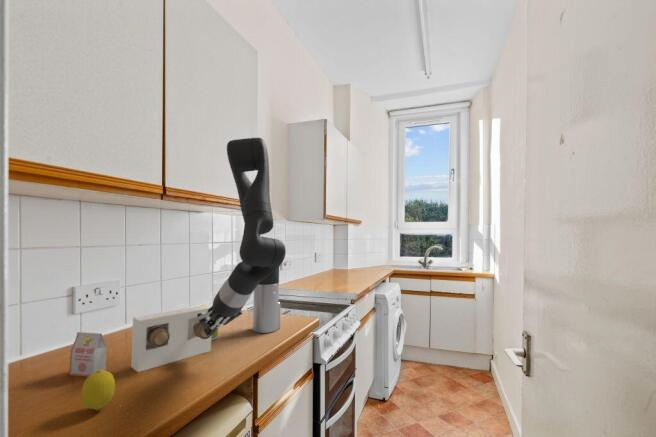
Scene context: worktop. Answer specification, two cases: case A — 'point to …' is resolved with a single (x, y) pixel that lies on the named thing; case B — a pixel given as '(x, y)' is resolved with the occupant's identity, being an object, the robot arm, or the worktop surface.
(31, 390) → the worktop surface
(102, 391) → the lemon
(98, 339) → the white milk carton
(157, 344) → the knob
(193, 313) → the panel
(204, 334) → the knob
